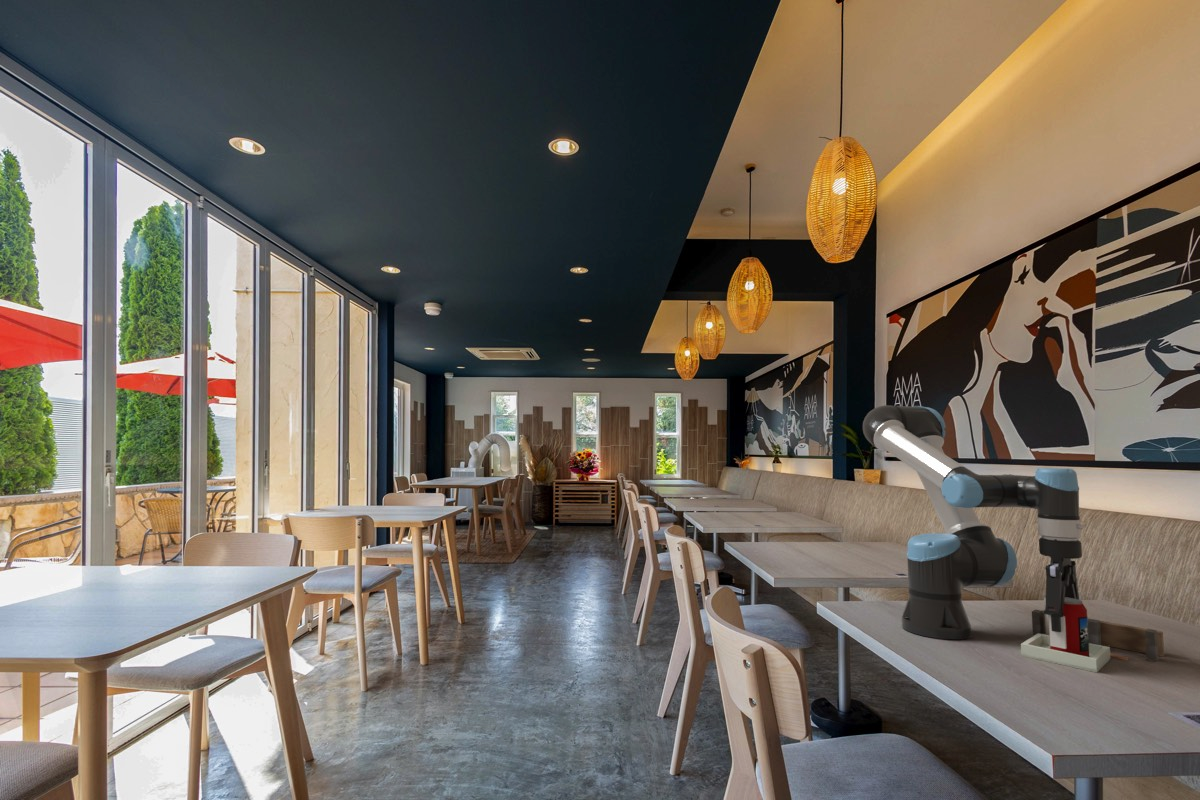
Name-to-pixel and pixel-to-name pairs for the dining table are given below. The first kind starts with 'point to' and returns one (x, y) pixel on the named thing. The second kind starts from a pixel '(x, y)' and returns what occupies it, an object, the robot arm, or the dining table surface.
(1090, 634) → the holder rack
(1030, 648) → the tray
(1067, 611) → the beverage can
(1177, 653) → the dining table surface
